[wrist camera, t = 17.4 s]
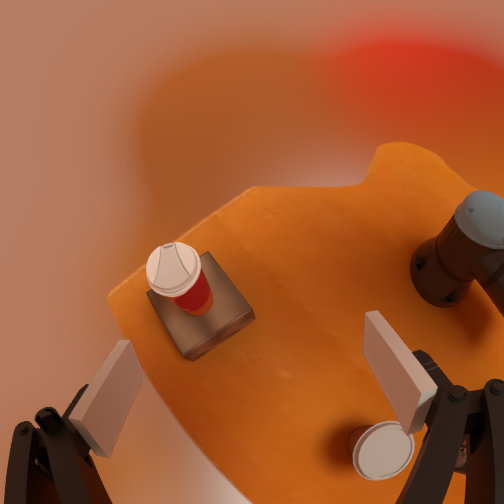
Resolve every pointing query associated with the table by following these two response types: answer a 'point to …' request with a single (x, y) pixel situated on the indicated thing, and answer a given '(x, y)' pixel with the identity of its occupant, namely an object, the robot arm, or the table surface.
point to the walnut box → (209, 324)
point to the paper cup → (180, 277)
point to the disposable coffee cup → (380, 450)
